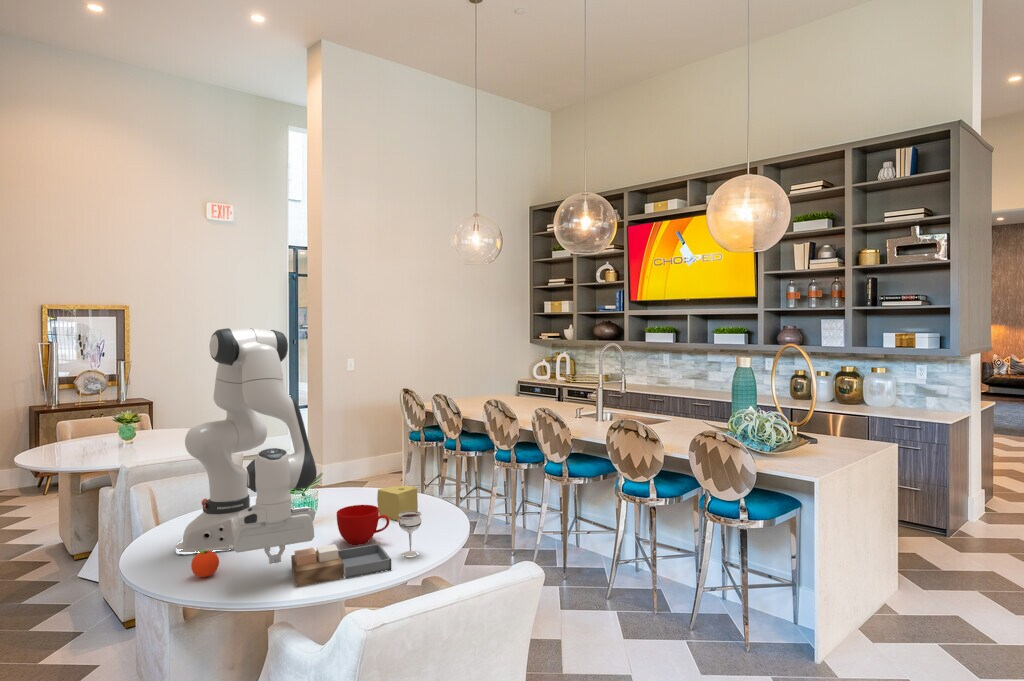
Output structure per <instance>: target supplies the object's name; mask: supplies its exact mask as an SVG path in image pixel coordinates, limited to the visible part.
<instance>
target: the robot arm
mask: <svg viewBox="0 0 1024 681" xmlns="http://www.w3.org/2000/svg"><path fill="white" fill-rule="evenodd" d="M208 347H209V353H210V357H211V359H212V360H214V362H216V363H218V364H217V368H216V374H215V381H214V390H213V398H212V399H213V401H214V404H215V405H216V406H217V407H218V408H219V409H221V410H224V411H226V418H225V419H223V420H216V421H215V420H214V421H208V422H203V423H201V424H198V425H195V426H193V427H191V428H189V430H188V431H187V433H186V435H185V437H184V438H185V439H184V446H185V449H186V451H187V453H188V454H189V455H190V456H191V457H192V458H194V459H196V460H198V462H200V463H201V464H202V466H203V467H204V469H205V471H206V474H207V477H208V487H209V499H208V498H202V500H201V505H202V513H200V514H199V515H198V516H196V518H194V519H193V520H192V521H191V522H189V523H188V524H187V526H186V527H185V529H184V532H183V535H182V539H183V542H182V543H179V544H178V545H176V544H175V546H176V548H177V549H183V550H181V551H179V552H195V551H196V552H198V551H203V550H204V551H213V550H229V549H234V550H233V551H234V552H235V553H238V554H239V553H244V552H249V551H250V552H251V551H255V550H256V551H257V550H262V549H263V550H264V553H265V555H266V556H267V558H268V563H269V565H271V564H276V563H277V564H278V563H281V562H282V555H283V554H284V553H285V550H286V546H287V545H294V544H300V543H306V542H312V541H313V540H314V538H315V528H314V520H315V518H316V516H315V510H314V509H313V508H312V507H309V506H303V507H292V496H291V495H292V494H291V491H290V490H298V489H299V490H301V489H308V488H309V487H310V486H311V485H312V484H313V483H314V482H315V480H316V479H317V475H318V474H317V473H318V470H317V465H316V461H315V459H314V456H313V452H312V450H311V446H310V442H309V439H308V438H309V437H308V435H307V431H306V428H305V427H306V426H305V423H304V420H303V416H302V413H301V408H300V406H299V404H298V401H297V400H296V399H295V398H294V397H291V396H290V395H289V393H288V392H287V390H286V389H285V385H284V375H283V368H282V362H283V361H284V360H285V359H286V357H287V354H288V349H289V343H288V339H287V337H286V335H285V334H284V333H283V332H282V331H278V330H275V329H271V330H269V329H262V328H252V327H249V328H232V329H231V328H220V329H216V330H215V331H214V332H213V334H212V335H211V337H210V341H209V346H208ZM256 413H259V414H261V415H264V416H268V417H272V418H276V419H278V420H280V421H282V422H284V423H285V425H287V427H288V431H289V435H290V438H291V443H292V446H293V450H294V452H293V453H291V454H288V452H287V451H286V450H285V449H282V448H278V447H271V448H266V449H263V450H261V451H259V452H258V453H257V455H256V458H254V459H253V460H251V461H250V462H249V464H248V465H247V466H246V467H245V468H246V469H245V468H243V467H242V466H241V465H239V464H235V463H234V461H233V458H232V454H237V453H242V452H243V453H244V452H247V451H250V450H253V449H255V448H257V447H260V446H262V445H263V444H264V443H265V441H266V440H267V436H268V429H267V426H266V424H265V422H264V421H263V420H262V419H261V418H260V417H259V416H258V415H257V414H256ZM249 489H250V490H251V491H252V492H254V493H257V494H256V499H255V504H254V505H251V498H250V495H249ZM274 547H278V548H279V551H278V552H277V554H271V548H274Z"/></svg>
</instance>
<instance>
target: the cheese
mask: <svg viewBox="0 0 1024 681" xmlns="http://www.w3.org/2000/svg"><path fill="white" fill-rule="evenodd" d="M376 496H377V498H376V499H377V501H376V502H377V507H378V508H379V516H381V515H386V516H388V518H389V520H392V519H393V521H396V520H397V522H398V521H399V518H400V517H399V514H400V513H402V512H406V511H418V508H419V506H418V505H419V504H418V503H419V502H418V500H419V499H418V488H417V487H415V486H412V485H406V484H405V485H399V486H393V485H392V486H386V487H381V488H379V489H378V490H377V495H376Z"/></svg>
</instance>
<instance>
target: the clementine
mask: <svg viewBox="0 0 1024 681" xmlns="http://www.w3.org/2000/svg"><path fill="white" fill-rule="evenodd" d="M199 552H200V553H198V554H196V553H195V554H193V555H192V556H193V557H192V560H191V565H190V569H191V571H192V574H194V575H195V576H196V577H198V576H199V578H207V577H206V576H208V577H211V576H213V575H214V574H215V573H216V571H217V570H218V569H219V566H220V557H219V556H218V554H217V552H212V551H204V550H203V551H199ZM210 575H211V576H210Z"/></svg>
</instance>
